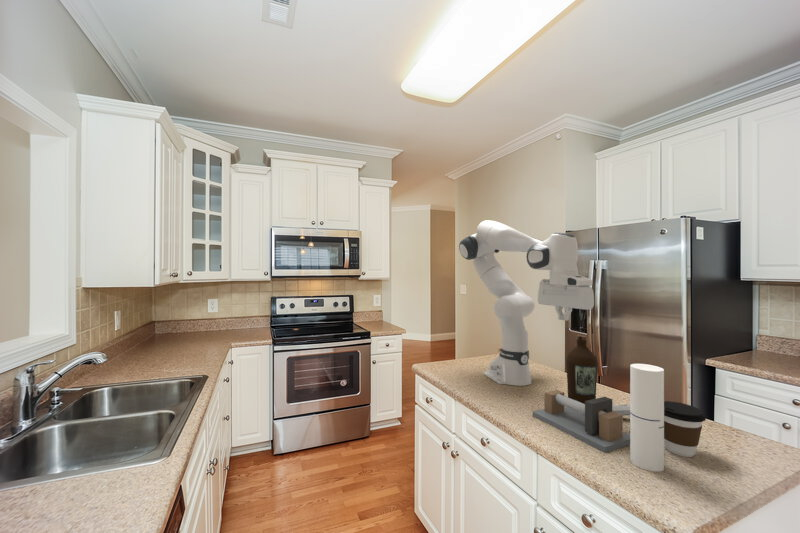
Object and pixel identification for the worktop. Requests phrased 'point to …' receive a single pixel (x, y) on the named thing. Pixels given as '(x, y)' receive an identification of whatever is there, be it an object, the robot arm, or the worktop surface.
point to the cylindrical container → (647, 416)
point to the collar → (595, 413)
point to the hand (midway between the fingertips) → (563, 320)
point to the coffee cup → (682, 428)
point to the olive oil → (581, 372)
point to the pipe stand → (583, 422)
